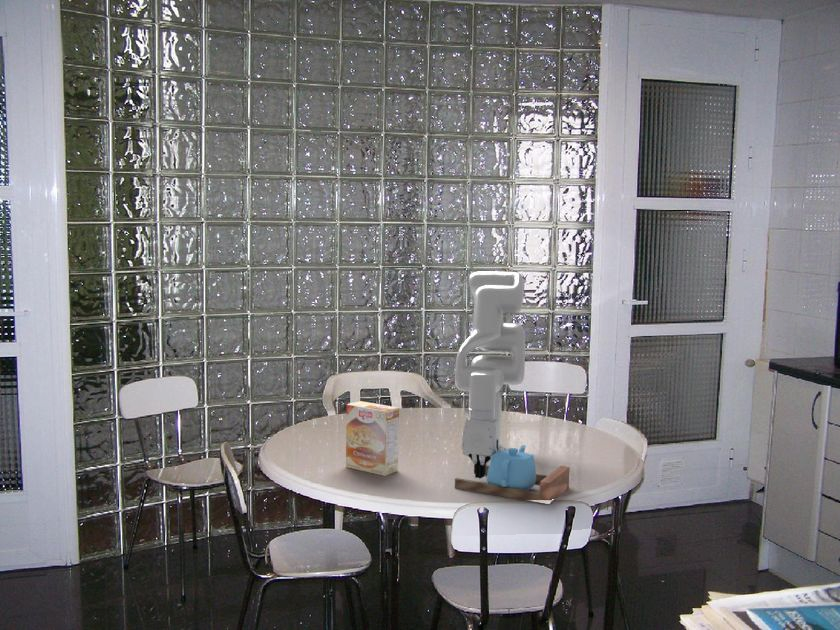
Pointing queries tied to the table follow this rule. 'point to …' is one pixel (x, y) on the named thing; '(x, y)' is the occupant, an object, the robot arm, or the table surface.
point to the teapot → (512, 469)
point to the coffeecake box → (372, 437)
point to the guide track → (549, 489)
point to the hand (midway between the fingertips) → (479, 476)
